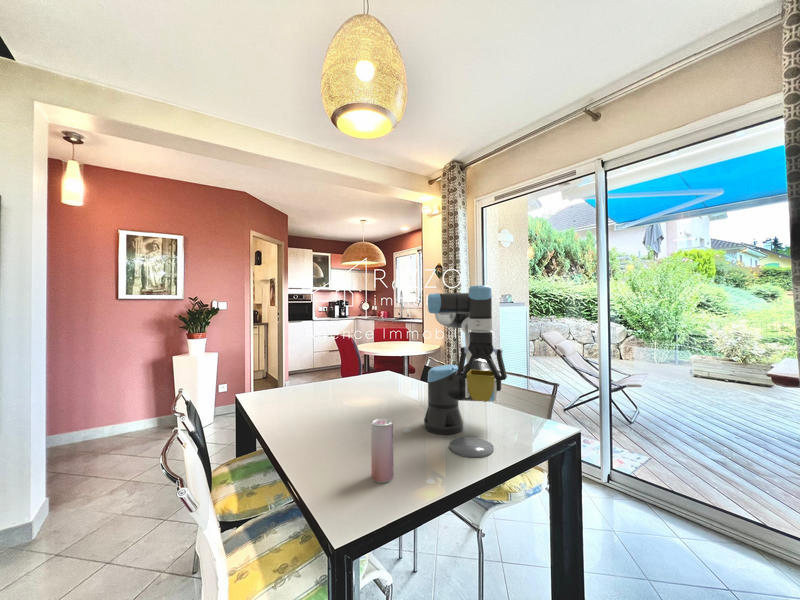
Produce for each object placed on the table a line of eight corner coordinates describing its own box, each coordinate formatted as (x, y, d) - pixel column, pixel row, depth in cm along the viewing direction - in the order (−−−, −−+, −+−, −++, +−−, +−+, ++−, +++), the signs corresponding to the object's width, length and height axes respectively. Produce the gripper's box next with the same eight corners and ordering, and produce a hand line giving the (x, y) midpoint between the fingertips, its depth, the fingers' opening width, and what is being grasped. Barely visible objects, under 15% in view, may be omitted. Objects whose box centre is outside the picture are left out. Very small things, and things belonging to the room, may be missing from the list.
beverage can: (371, 473, 89) (371, 418, 90) (392, 471, 90) (392, 417, 90) (371, 484, 84) (371, 426, 84) (394, 483, 84) (393, 425, 85)
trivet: (442, 450, 103) (442, 448, 103) (460, 436, 115) (460, 434, 115) (485, 461, 96) (485, 459, 96) (499, 445, 107) (499, 442, 107)
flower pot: (496, 397, 111) (495, 370, 111) (494, 404, 102) (493, 375, 103) (470, 395, 114) (469, 369, 114) (466, 401, 105) (466, 374, 106)
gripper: (446, 331, 111) (447, 397, 110) (511, 333, 100) (513, 406, 100) (453, 329, 117) (454, 392, 117) (516, 331, 107) (517, 400, 106)
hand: (481, 398), depth 108 cm, fingers closed on flower pot, 9 cm apart
